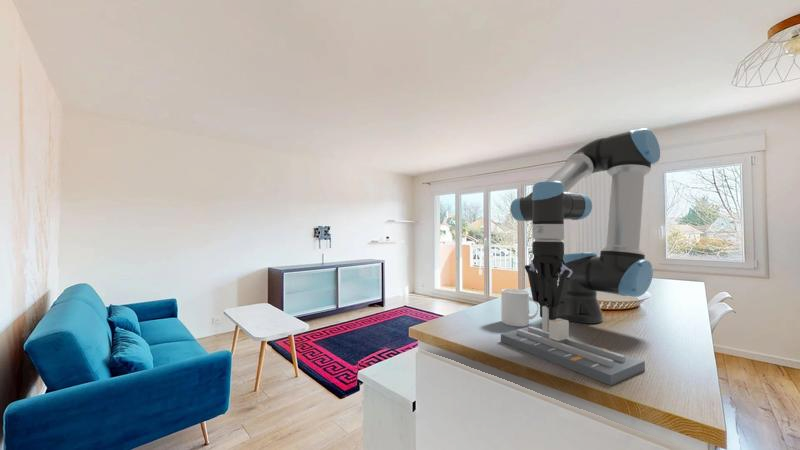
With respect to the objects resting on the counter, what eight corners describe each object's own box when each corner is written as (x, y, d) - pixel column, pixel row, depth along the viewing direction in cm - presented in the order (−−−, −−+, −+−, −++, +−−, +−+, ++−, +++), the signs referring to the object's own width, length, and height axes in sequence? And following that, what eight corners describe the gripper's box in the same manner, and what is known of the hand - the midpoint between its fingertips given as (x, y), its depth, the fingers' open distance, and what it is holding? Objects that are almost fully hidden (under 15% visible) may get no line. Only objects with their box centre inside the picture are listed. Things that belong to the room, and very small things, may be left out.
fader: (559, 340, 80) (559, 318, 80) (568, 343, 78) (568, 320, 78) (549, 343, 78) (549, 320, 78) (558, 346, 76) (557, 322, 76)
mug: (544, 327, 98) (543, 294, 98) (505, 327, 98) (505, 293, 98) (533, 320, 106) (533, 289, 106) (498, 319, 107) (498, 288, 107)
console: (533, 333, 92) (533, 322, 92) (644, 370, 68) (644, 355, 68) (500, 341, 85) (500, 329, 85) (610, 385, 61) (610, 369, 61)
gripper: (517, 240, 85) (517, 326, 84) (562, 241, 73) (562, 341, 73) (535, 240, 88) (535, 322, 88) (581, 241, 77) (581, 336, 76)
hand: (548, 331), depth 80 cm, fingers closed
